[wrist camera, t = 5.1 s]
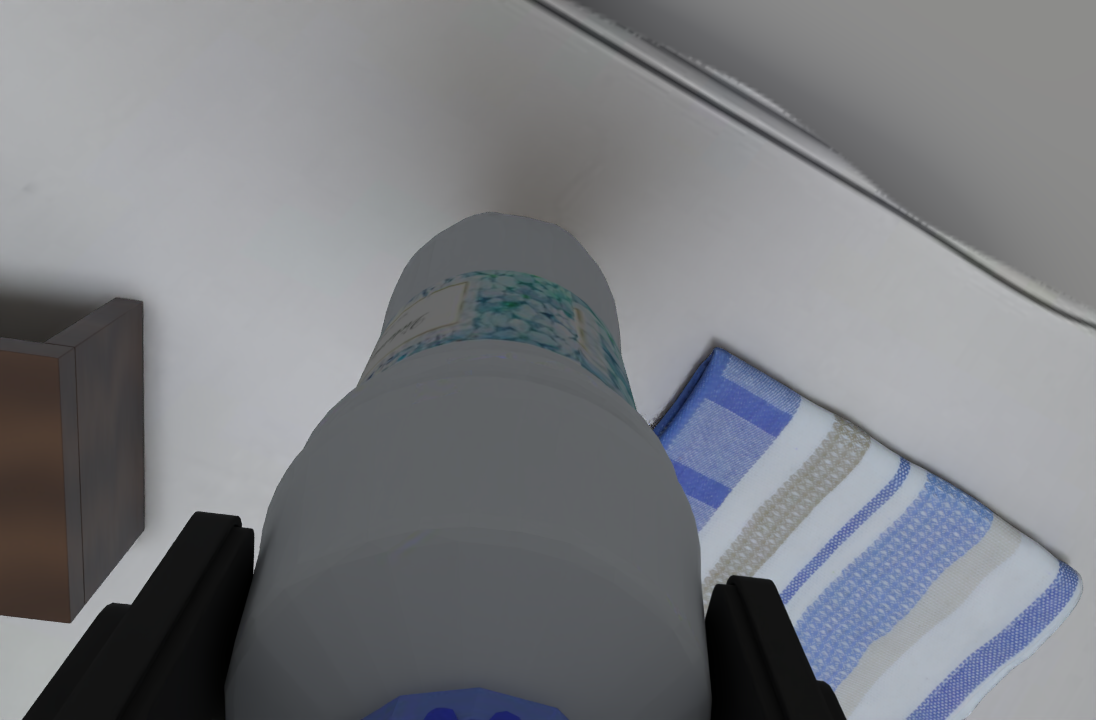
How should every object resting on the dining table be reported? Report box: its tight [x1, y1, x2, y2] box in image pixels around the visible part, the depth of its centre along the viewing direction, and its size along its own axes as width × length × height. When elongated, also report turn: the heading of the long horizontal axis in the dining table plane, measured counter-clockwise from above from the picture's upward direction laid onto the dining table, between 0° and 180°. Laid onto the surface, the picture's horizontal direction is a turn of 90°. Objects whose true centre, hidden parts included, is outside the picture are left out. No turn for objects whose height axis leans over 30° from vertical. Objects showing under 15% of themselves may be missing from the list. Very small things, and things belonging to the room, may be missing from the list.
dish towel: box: [653, 347, 1083, 720], centre depth 42 cm, size 17×24×3 cm
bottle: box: [224, 212, 712, 720], centre depth 16 cm, size 7×7×20 cm
